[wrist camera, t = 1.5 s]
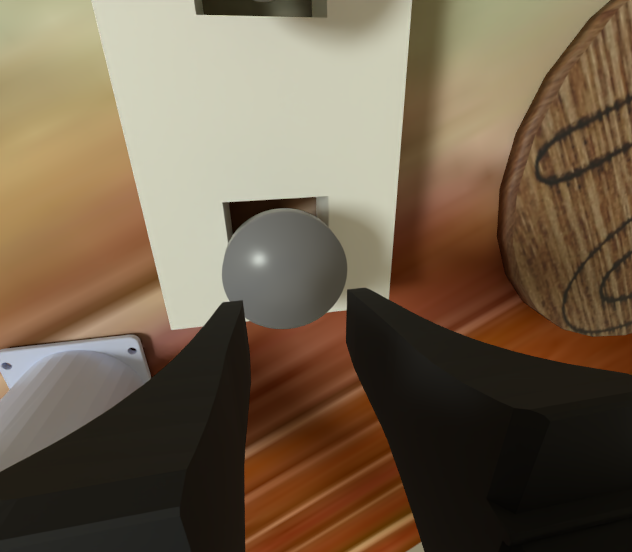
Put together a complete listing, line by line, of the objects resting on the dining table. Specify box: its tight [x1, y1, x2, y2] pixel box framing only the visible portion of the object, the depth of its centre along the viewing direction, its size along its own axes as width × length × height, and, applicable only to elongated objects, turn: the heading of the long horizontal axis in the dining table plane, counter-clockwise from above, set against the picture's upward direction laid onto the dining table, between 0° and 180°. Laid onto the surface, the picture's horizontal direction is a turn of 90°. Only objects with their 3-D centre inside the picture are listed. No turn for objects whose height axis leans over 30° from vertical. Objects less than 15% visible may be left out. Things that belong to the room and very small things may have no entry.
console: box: [91, 0, 412, 330], centre depth 16 cm, size 20×12×4 cm, turn 1°
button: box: [222, 208, 347, 329], centre depth 15 cm, size 5×5×4 cm
